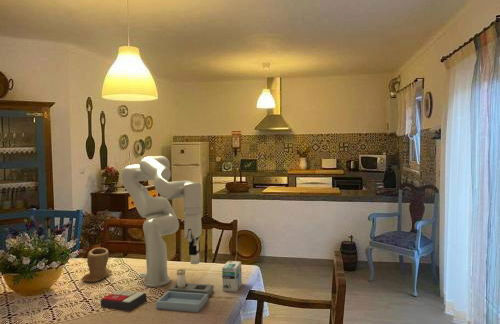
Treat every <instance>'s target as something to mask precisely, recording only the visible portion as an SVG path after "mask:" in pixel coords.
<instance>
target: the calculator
mask: <svg viewBox="0 0 500 324" xmlns="http://www.w3.org/2000/svg"><path fill="white" fill-rule="evenodd" d="M147 300H148V299H147V293H146V292H141V291H135V290H134V291H133V290H126V289H125V290H124V289H123V290H122V289H118V290H117V289H116V290H115V291H113V292H112V293H110V294H108V295H106V296H105V297H103V298H101V299H100V307H102V306H103V308H109V309H115V310H116V309H117V310H121V311H126V312H131V311H133V310H135V309H137V308H138V307H139V306H141V305H143V304H144V303H146V302H147Z"/></svg>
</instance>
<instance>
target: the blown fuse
mask: <svg viewBox="0 0 500 324" xmlns="http://www.w3.org/2000/svg"><path fill="white" fill-rule="evenodd" d="M192 241H193V242H194V240H192ZM199 243H200V242H199V239H196V245H195V246H196V247H197V255H190V264H191V265H198V264H200V252H199Z"/></svg>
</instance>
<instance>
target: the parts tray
mask: <svg viewBox="0 0 500 324" xmlns="http://www.w3.org/2000/svg"><path fill="white" fill-rule="evenodd" d="M208 301H209V297H208V294H201V293H187V292H173V291H168V290H167V291H166V292H165V293H164V294H163V295H162V296H161V297H160V298H158V299H157V300H156V302H155V304H156V305H155V306H156V307H155V308H156V310H157V309H158V310H165V311H181V312H193V313H199V312H201V310H202V309H203V307H204V306H205V305H206V304H207V303H208Z"/></svg>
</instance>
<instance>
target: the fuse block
mask: <svg viewBox="0 0 500 324" xmlns="http://www.w3.org/2000/svg"><path fill="white" fill-rule="evenodd" d="M185 285H186V287H185V288H177V281H176V282H174V283H173V284H172V285H171V286H169V288H167V292H168V291H173V292H187V293H201V294H208V298H209V297H210V296H211V295H212V294H213V293H214V284H210V283H207V284H206V283H191V282H185Z"/></svg>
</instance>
